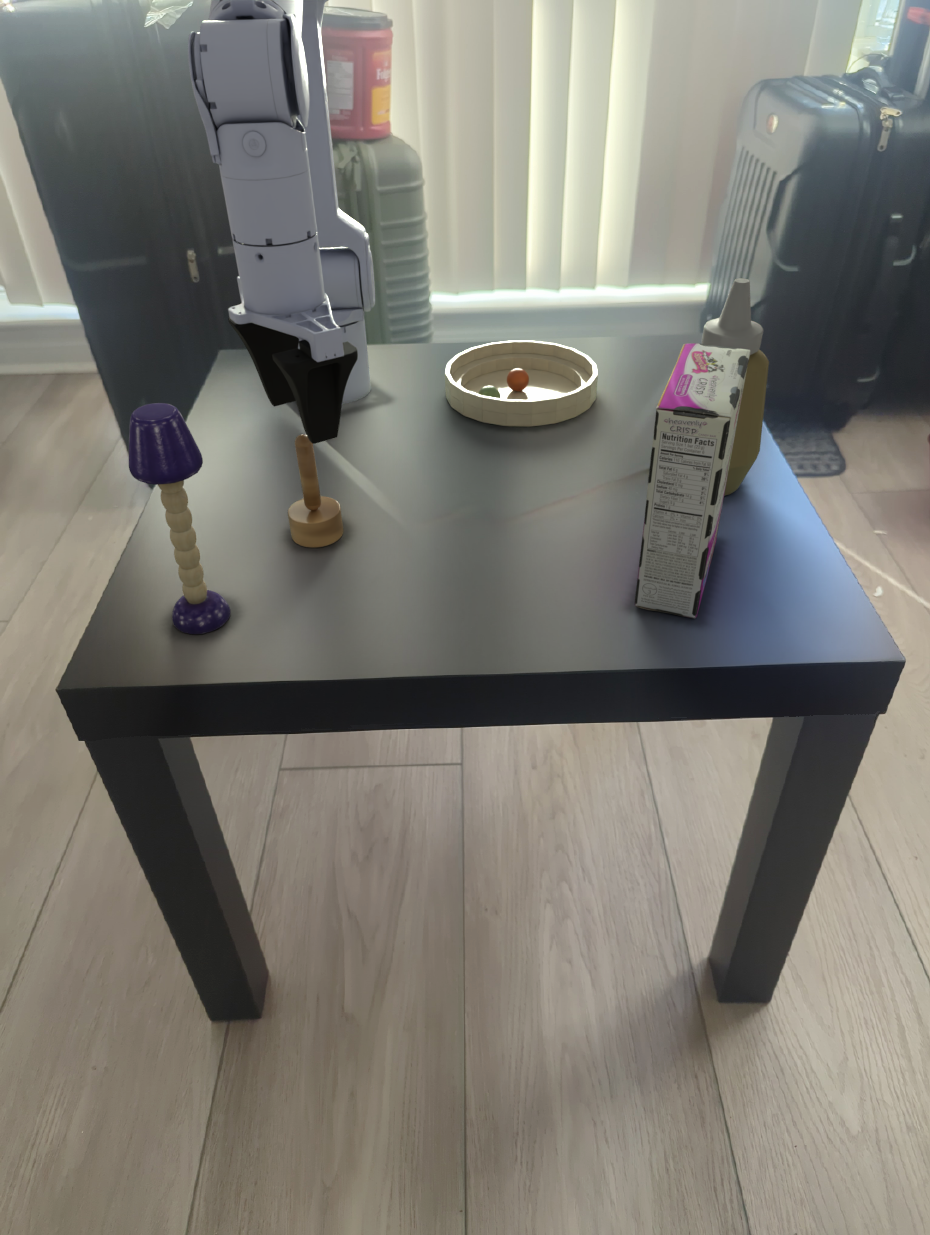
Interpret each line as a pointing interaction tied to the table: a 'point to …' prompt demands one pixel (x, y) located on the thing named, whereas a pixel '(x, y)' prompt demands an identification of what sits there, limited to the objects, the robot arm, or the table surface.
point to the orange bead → (517, 379)
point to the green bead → (490, 391)
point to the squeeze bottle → (745, 334)
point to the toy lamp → (176, 507)
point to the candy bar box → (689, 476)
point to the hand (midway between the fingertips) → (303, 420)
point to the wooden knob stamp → (313, 504)
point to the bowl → (549, 398)
